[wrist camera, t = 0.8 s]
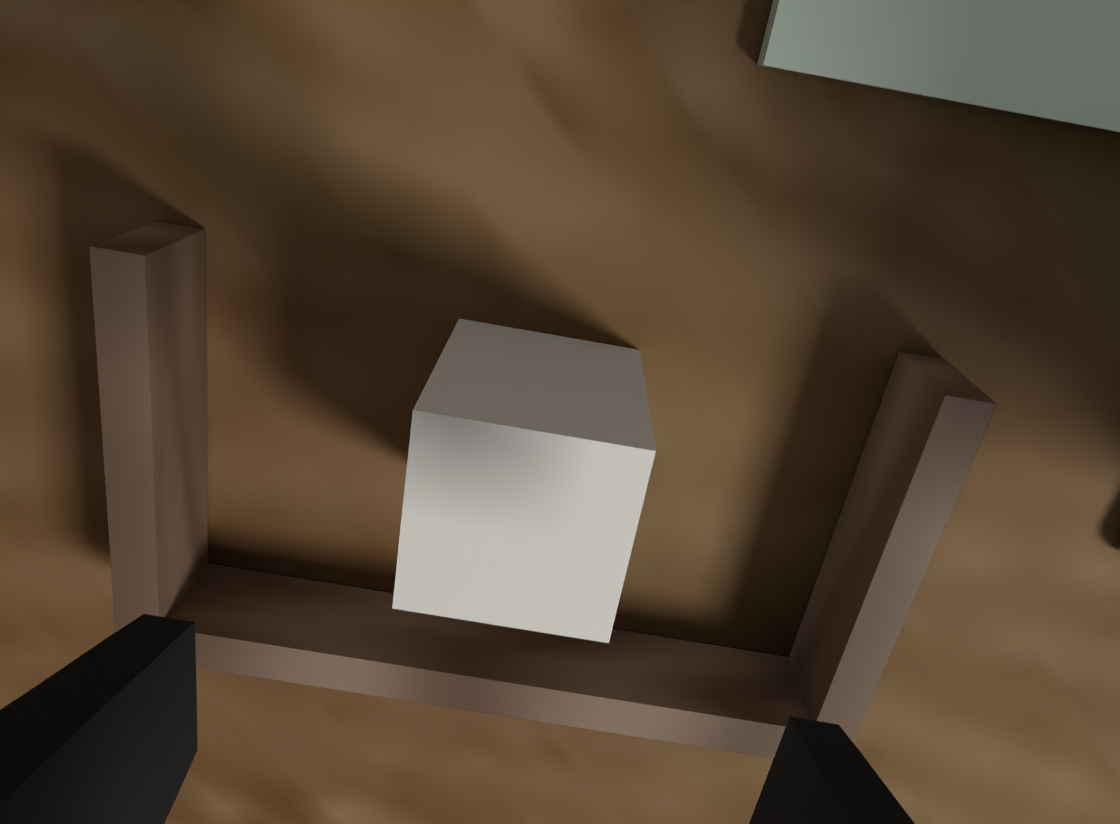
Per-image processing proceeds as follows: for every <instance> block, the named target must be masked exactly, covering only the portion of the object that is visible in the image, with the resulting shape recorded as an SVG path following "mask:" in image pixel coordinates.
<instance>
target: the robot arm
mask: <svg viewBox="0 0 1120 824" xmlns="http://www.w3.org/2000/svg"><path fill="white" fill-rule="evenodd" d="M196 752H197V699H196V642H195V622H192V621H186V620H179V619H173V618H167V617H161V616H154V615H148V614H143V615H141V616H140V617H138V618H137V619H135V620H134V621H132V622H131V623H129V624H128V625H126V626H125V627H123V628H121V629H120V630H118V631H117V632H115V633H114V634H112V635H111V636H109V637H108V638H106V639H105V640H103V641H102V642H100V643H99V644H98V645H96V646H95V647H93V648H92V649H90V650H89V651H87V652H86V653H84V654H83V655H81V656H80V657H78V658H77V659H75V660H74V661H72V662H71V663H70V664H68V665H67V666H65V667H64V668H62V669H61V670H59V671H58V672H56V673H55V674H53V675H52V676H50V677H49V678H47V679H46V680H44V681H43V682H41V683H40V684H39V685H37V686H36V687H34V688H33V689H31V690H30V691H28V692H27V693H25V694H24V695H22V696H21V697H19V698H18V699H16V700H15V701H13V702H11V703H10V704H8V705H7V706H5V707H4V708H2V709H1V710H0V824H164V823H165V821H166V818H167V816H168V814H169V812H170V810H171V808H172V806H173V803H174V801H175V799H176V797H177V795H178V792H179V790H180V788H181V786H182V783H183V781H184V779H185V777H186V774H187V772H188V770H189V767H190V765H191V763H192V761H193V758H194V756H195V754H196ZM749 824H914V822H913V821H912V820H911V818H910V817H909V816H908V814H907V813H906V812H905V810H904V809H903V808H902V807H901V805H900V804H899V803H898V801H897V800H896V799H895V797H894V796H893V795H892V793H891V792H890V791H889V789H888V788H887V787H886V785H885V784H884V783H883V781H882V780H881V779H880V778H879V776H878V775H877V774H876V772H875V771H874V770H873V768H872V767H871V766H870V764H869V763H868V762H867V760H866V759H865V758H864V756H863V755H862V754H861V752H860V751H859V750H858V748H857V747H856V746H855V745H854V743H853V742H852V741H851V739H850V738H849V737H848V736H847V734H846V733H845V732H844V730H843V729H842V728H841V727H840V725H839V724H833V723H827V722H820V721H814V720H808V719H801V718H795V717H789V719H788V722H787V725H786V727H785V730H784V733H783V735H782V738H781V741H780V743H779V746H778V749H777V751H776V754H775V757H774V759H773V762H772V765H771V767H770V770H769V773H768V775H767V778H766V781H765V783H764V786H763V789H762V791H761V794H760V797H759V799H758V802H757V805H756V807H755V810H754V813H753V815H752V818H751V821H750V823H749Z"/></svg>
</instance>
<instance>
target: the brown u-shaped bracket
mask: <svg viewBox="0 0 1120 824" xmlns="http://www.w3.org/2000/svg"><path fill="white" fill-rule="evenodd" d="M89 249H90V264H91V279H92V294H93V308H94V323H95V338H96V353H97V367H98V382H99V397H100V412H101V426H102V441H103V456H104V471H105V485H106V500H107V515H108V530H109V544H110V559H111V574H112V589H113V603H114V618H115V632H117V631H118V630H120V629H121V628H123V627H125V626H126V625H128V624H129V623H131V622H132V621H134V620H135V619H137V618H138V617H140V616H141V615H143V614H148V615H154V616H161V617H167V618H173V619H179V620H186V621H192V622H195V642H196V668H203V669H209V670H215V671H222V672H228V673H234V674H241V675H247V676H253V677H260V678H266V679H273V680H279V681H285V682H292V683H298V684H304V685H311V686H317V687H323V688H330V689H336V690H343V691H349V692H355V693H362V694H368V695H374V696H381V697H387V698H393V699H400V700H406V701H412V702H419V703H425V704H432V705H438V706H444V707H451V708H457V709H463V710H470V711H476V712H482V713H489V714H495V715H502V716H508V717H514V718H521V719H527V720H533V721H540V722H546V723H552V724H559V725H565V726H572V727H578V728H584V729H591V730H597V731H603V732H610V733H616V734H622V735H629V736H635V737H641V738H648V739H654V740H661V741H667V742H673V743H680V744H686V745H692V746H699V747H705V748H711V749H718V750H724V751H731V752H737V753H743V754H750V755H756V756H762V757H769V758H774V757H775V754H776V751H777V749H778V746H779V743H780V741H781V738H782V735H783V733H784V730H785V727H786V725H787V722H788V719H789V717H795V718H801V719H808V720H814V721H820V722H827V723H833V724H839V725H840V727H841V728H842V729H843V730H844V732H845V733H846V734H847V736H848V737H849V738H850V739H851V741H852V742H853V741H854V739H855V737H856V734H857V732H858V730H859V727H860V725H861V722H862V720H863V718H864V715H865V713H866V711H867V708H868V706H869V704H870V701H871V699H872V697H873V694H874V692H875V690H876V687H877V685H878V682H879V680H880V678H881V675H882V673H883V671H884V668H885V666H886V664H887V661H888V659H889V657H890V654H891V652H892V650H893V647H894V645H895V642H896V640H897V638H898V635H899V633H900V631H901V628H902V626H903V624H904V621H905V619H906V617H907V614H908V612H909V610H910V607H911V605H912V603H913V600H914V598H915V595H916V593H917V591H918V588H919V586H920V584H921V581H922V579H923V577H924V574H925V572H926V570H927V567H928V565H929V563H930V560H931V558H932V555H933V553H934V551H935V548H936V546H937V544H938V541H939V539H940V537H941V534H942V532H943V530H944V527H945V525H946V523H947V520H948V518H949V515H950V513H951V511H952V508H953V506H954V504H955V501H956V499H957V497H958V494H959V492H960V490H961V487H962V485H963V483H964V480H965V478H966V475H967V473H968V471H969V468H970V466H971V464H972V461H973V459H974V457H975V454H976V452H977V450H978V447H979V445H980V443H981V440H982V438H983V436H984V433H985V431H986V428H987V426H988V424H989V421H990V419H991V417H992V414H993V412H994V410H995V407H996V405H997V404H996V403H995V402H994V401H993V400H991V399H990V398H989V397H988V396H987V395H986V394H984V393H983V392H982V391H981V390H980V389H979V388H977V387H976V386H975V385H974V384H973V383H972V382H970V381H969V380H968V379H967V378H966V377H965V376H963V375H962V374H961V373H960V372H959V371H958V370H956V369H955V368H954V367H953V366H952V365H951V364H949V363H948V362H947V361H946V360H945V359H942V358H936V357H931V356H925V355H919V354H914V353H908V352H902V351H899V353H898V356H897V358H896V361H895V364H894V367H893V370H892V372H891V375H890V378H889V381H888V383H887V386H886V389H885V392H884V394H883V397H882V400H881V403H880V406H879V408H878V411H877V414H876V417H875V419H874V422H873V425H872V428H871V430H870V433H869V436H868V439H867V442H866V444H865V447H864V450H863V453H862V455H861V458H860V461H859V464H858V466H857V469H856V472H855V475H854V478H853V480H852V483H851V486H850V489H849V491H848V494H847V497H846V500H845V503H844V505H843V508H842V511H841V514H840V516H839V519H838V522H837V525H836V527H835V530H834V533H833V536H832V539H831V541H830V544H829V547H828V550H827V552H826V555H825V558H824V561H823V563H822V566H821V569H820V572H819V575H818V577H817V580H816V583H815V586H814V588H813V591H812V594H811V597H810V599H809V602H808V605H807V608H806V611H805V613H804V616H803V619H802V622H801V624H800V627H799V630H798V633H797V635H796V638H795V641H794V644H793V647H792V649H791V652H790V655H789V657H785V656H779V655H772V654H766V653H760V652H754V651H748V650H742V649H735V648H729V647H723V646H717V645H711V644H704V643H698V642H692V641H686V640H680V639H673V638H667V637H661V636H655V635H649V634H643V633H636V632H630V631H624V630H618V629H612V632H611V637H610V641H609V643H604V642H598V641H592V640H586V639H579V638H573V637H567V636H561V635H554V634H548V633H542V632H536V631H530V630H523V629H517V628H511V627H505V626H498V625H492V624H486V623H480V622H473V621H467V620H461V619H455V618H449V617H442V616H436V615H430V614H424V613H417V612H411V611H405V610H399V609H392V605H393V596H394V593H389V592H383V591H377V590H370V589H364V588H358V587H352V586H346V585H339V584H333V583H327V582H321V581H315V580H308V579H302V578H296V577H290V576H284V575H278V574H271V573H265V572H259V571H253V570H247V569H240V568H234V567H228V566H222V565H216V564H209V563H208V499H207V390H206V281H205V229H202V228H196V227H191V226H185V225H179V224H173V223H168V222H162V221H155V222H152V223H150V224H147V225H144V226H142V227H139V228H136V229H134V230H131V231H128V232H126V233H123V234H120V235H118V236H115V237H113V238H110V239H107V240H105V241H102V242H99V243H97V244H94V245H91V246H89Z"/></svg>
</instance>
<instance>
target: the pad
mask: <svg viewBox="0 0 1120 824" xmlns="http://www.w3.org/2000/svg"><path fill="white" fill-rule="evenodd" d="M757 65H761V66H767V67H772V68H777V69H783V70H788V71H793V72H799V73H804V74H809V75H815V76H820V77H825V78H831V79H836V80H841V81H847V82H852V83H858V84H863V85H868V86H874V87H879V88H884V89H890V90H895V91H900V92H906V93H911V94H916V95H922V96H927V97H932V98H938V99H943V100H949V101H954V102H959V103H965V104H970V105H975V106H981V107H986V108H991V109H997V110H1002V111H1007V112H1013V113H1018V114H1023V115H1029V116H1034V117H1040V118H1045V119H1050V120H1056V121H1061V122H1066V123H1072V124H1077V125H1082V126H1088V127H1093V128H1098V129H1104V130H1109V131H1114V132H1120V0H773V3H772V7H771V11H770V15H769V19H768V23H767V27H766V31H765V35H764V39H763V43H762V47H761V51H760V55H759V59H758V63H757Z"/></svg>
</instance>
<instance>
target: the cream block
mask: <svg viewBox="0 0 1120 824" xmlns="http://www.w3.org/2000/svg"><path fill="white" fill-rule="evenodd" d="M655 452H656V449H655V443H654V437H653V431H652V424H651V418H650V412H649V406H648V399H647V393H646V387H645V381H644V374H643V368H642V362H641V356H640V350H638V349H632V348H626V347H620V346H615V345H609V344H603V343H597V342H592V341H586V340H580V339H574V338H568V337H563V336H557V335H551V334H545V333H540V332H534V331H528V330H522V329H517V328H511V327H505V326H499V325H494V324H488V323H482V322H476V321H471V320H465V319H459V320H458V322H457V324H456V326H455V328H454V330H453V332H452V334H451V336H450V338H449V340H448V342H447V343H446V345H445V347H444V349H443V351H442V353H441V355H440V357H439V359H438V361H437V363H436V365H435V367H434V369H433V371H432V373H431V375H430V377H429V379H428V381H427V383H426V385H425V387H424V389H423V391H422V393H421V395H420V397H419V399H418V401H417V403H416V405H415V407H414V409H413V413H412V423H411V432H410V442H409V452H408V461H407V471H406V481H405V490H404V500H403V509H402V519H401V529H400V538H399V548H398V557H397V567H396V577H395V586H394V596H393V605H392V609H399V610H405V611H411V612H417V613H424V614H430V615H436V616H442V617H449V618H455V619H461V620H467V621H473V622H480V623H486V624H492V625H498V626H505V627H511V628H517V629H523V630H530V631H536V632H542V633H548V634H554V635H561V636H567V637H573V638H579V639H586V640H592V641H598V642H604V643H609V641H610V637H611V632H612V628H613V624H614V620H615V616H616V612H617V608H618V604H619V600H620V596H621V591H622V587H623V583H624V579H625V575H626V571H627V567H628V563H629V559H630V555H631V551H632V546H633V542H634V538H635V534H636V530H637V526H638V522H639V518H640V514H641V510H642V505H643V501H644V497H645V493H646V489H647V485H648V481H649V477H650V473H651V469H652V465H653V460H654V456H655Z"/></svg>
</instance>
